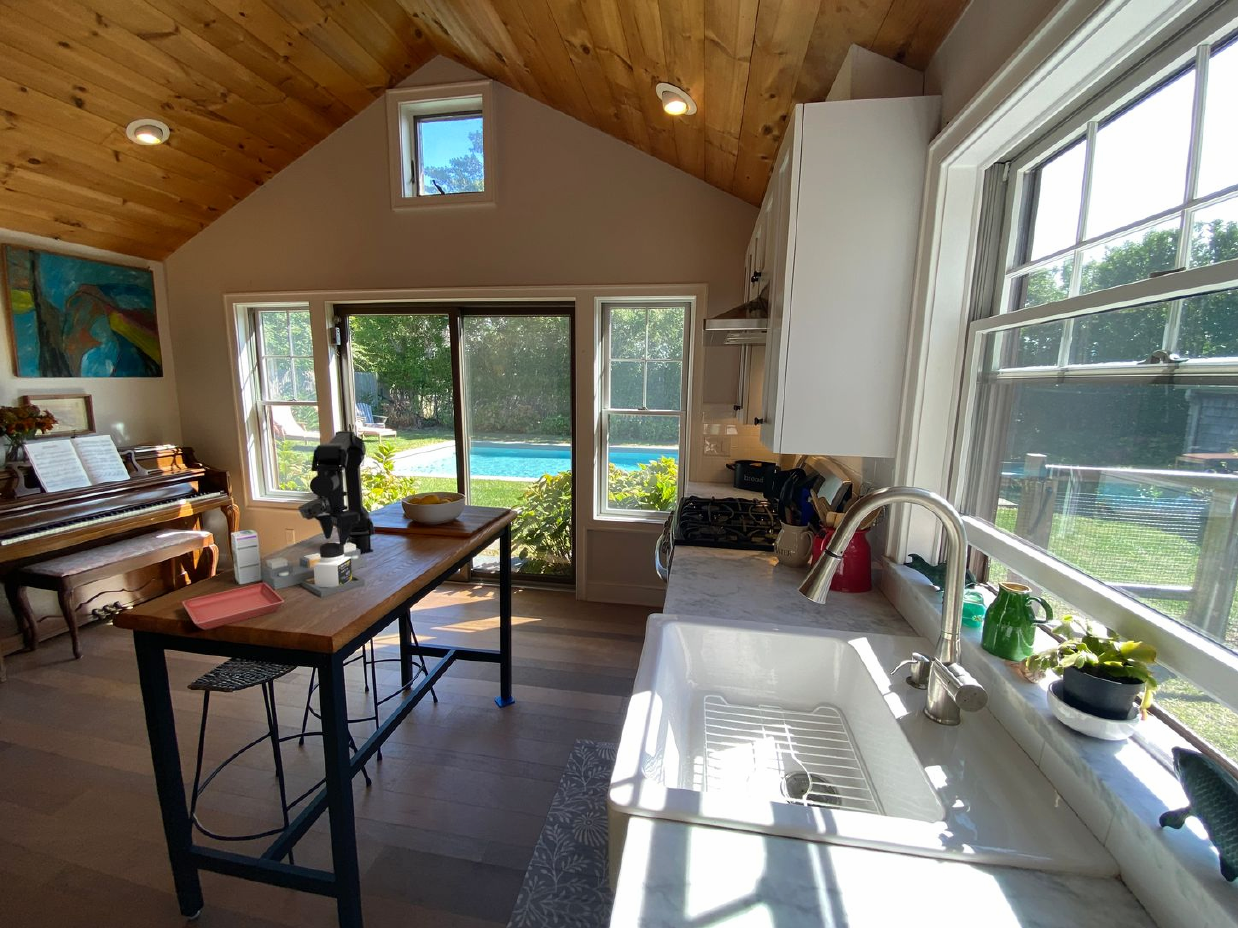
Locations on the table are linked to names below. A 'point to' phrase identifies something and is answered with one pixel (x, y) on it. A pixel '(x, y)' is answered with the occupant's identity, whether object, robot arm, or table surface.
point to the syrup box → (246, 556)
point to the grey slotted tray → (302, 571)
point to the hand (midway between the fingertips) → (335, 541)
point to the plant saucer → (232, 605)
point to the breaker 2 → (349, 547)
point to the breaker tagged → (312, 556)
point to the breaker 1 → (276, 563)
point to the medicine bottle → (332, 566)
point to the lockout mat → (323, 592)
